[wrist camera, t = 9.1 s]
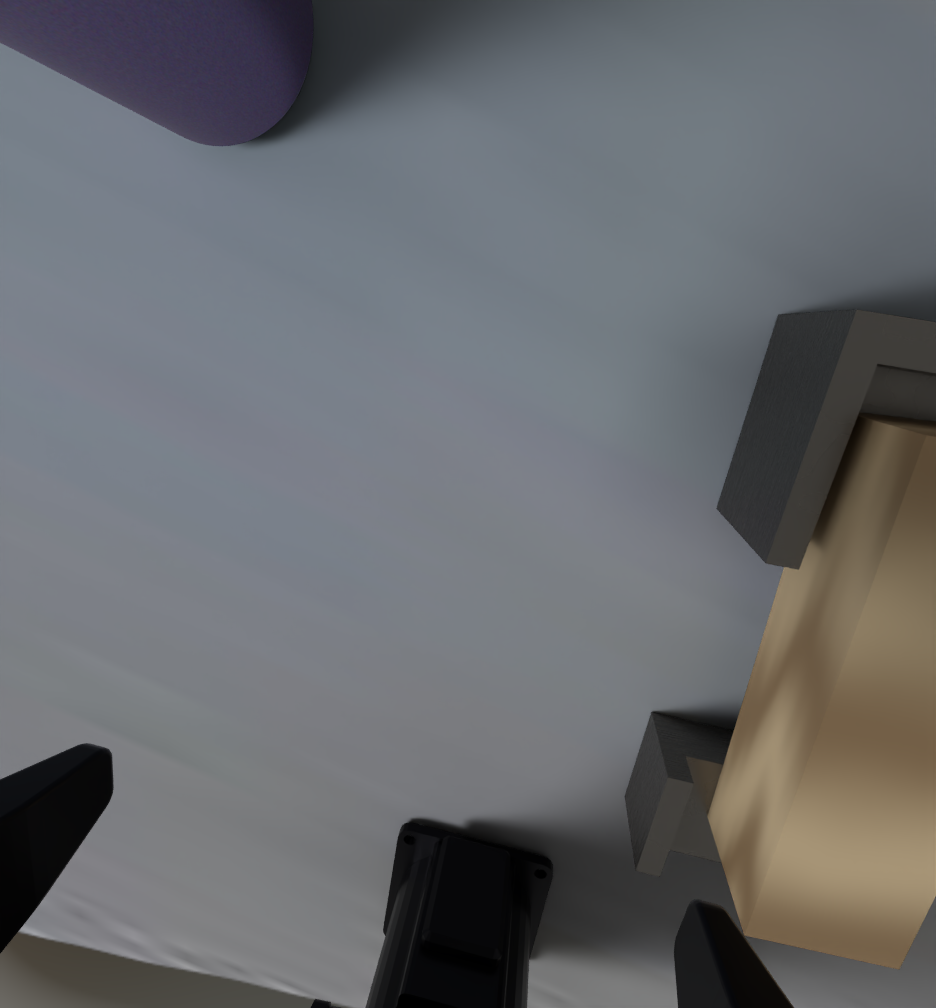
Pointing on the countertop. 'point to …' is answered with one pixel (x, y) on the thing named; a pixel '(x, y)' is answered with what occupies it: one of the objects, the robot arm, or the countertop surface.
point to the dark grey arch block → (674, 791)
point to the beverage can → (175, 57)
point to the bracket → (819, 417)
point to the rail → (844, 719)
